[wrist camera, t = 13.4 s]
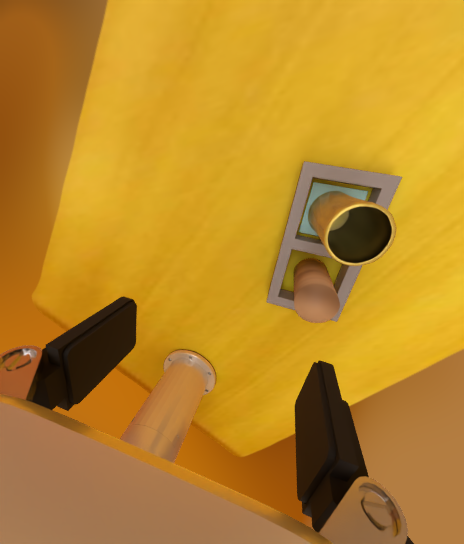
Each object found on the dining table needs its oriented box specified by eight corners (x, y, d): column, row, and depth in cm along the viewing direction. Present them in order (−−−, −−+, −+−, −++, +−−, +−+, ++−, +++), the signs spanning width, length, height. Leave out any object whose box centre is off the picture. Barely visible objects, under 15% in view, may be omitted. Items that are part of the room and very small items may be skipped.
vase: (361, 193, 28) (417, 200, 16) (347, 238, 31) (386, 277, 18) (313, 188, 30) (328, 192, 17) (303, 232, 32) (310, 265, 19)
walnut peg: (321, 290, 35) (330, 327, 26) (290, 282, 36) (289, 316, 27) (331, 262, 33) (346, 292, 24) (298, 254, 34) (301, 280, 25)
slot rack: (333, 311, 36) (336, 321, 33) (268, 293, 37) (266, 302, 35) (391, 177, 27) (402, 176, 24) (303, 163, 29) (304, 161, 26)
